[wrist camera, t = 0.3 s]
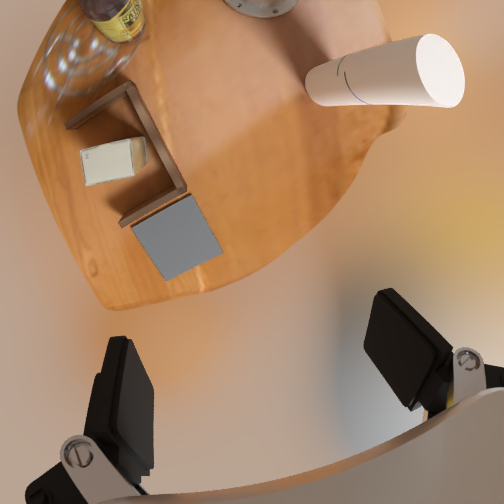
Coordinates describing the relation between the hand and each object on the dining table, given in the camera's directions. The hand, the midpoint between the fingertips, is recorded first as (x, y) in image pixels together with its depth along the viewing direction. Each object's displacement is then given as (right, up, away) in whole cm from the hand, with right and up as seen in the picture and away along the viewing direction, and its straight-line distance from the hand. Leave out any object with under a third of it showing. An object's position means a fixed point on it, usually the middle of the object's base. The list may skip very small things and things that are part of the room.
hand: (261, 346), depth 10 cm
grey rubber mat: (-12, +5, +35) cm, 37 cm away
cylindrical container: (+11, +30, +29) cm, 43 cm away
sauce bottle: (-19, +37, +18) cm, 45 cm away
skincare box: (-19, +18, +27) cm, 38 cm away
